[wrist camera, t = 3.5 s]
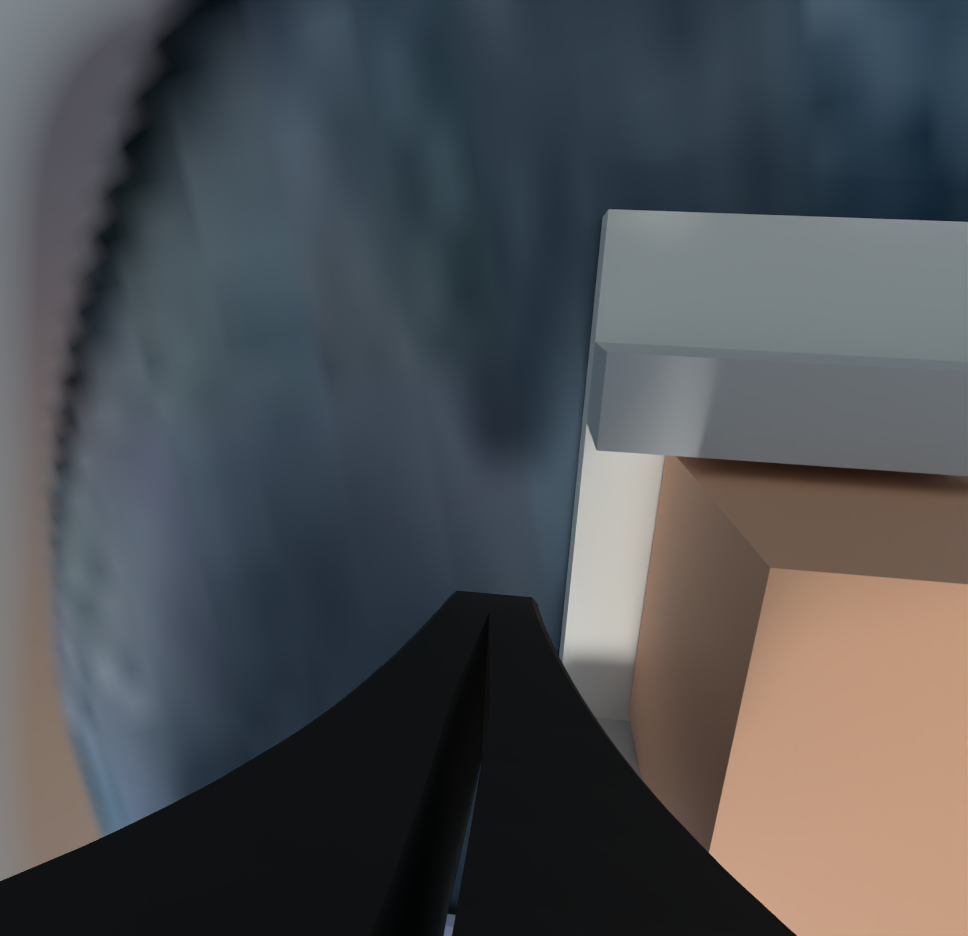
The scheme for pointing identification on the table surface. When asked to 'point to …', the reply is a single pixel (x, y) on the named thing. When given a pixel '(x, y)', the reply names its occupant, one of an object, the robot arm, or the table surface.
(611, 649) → the chute
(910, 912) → the block
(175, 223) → the table surface
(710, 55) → the table surface
